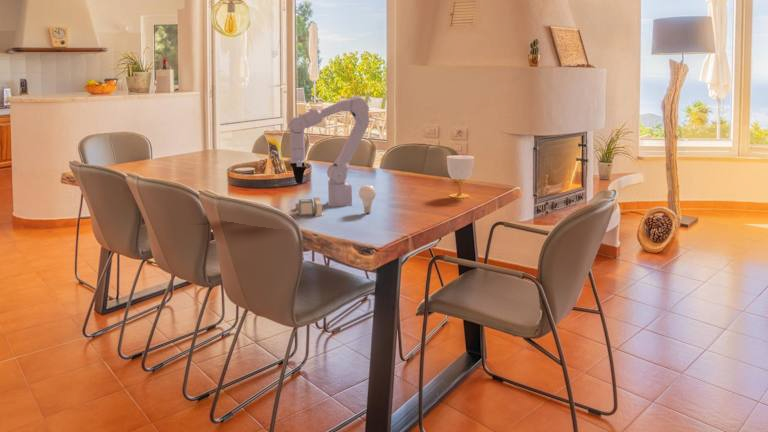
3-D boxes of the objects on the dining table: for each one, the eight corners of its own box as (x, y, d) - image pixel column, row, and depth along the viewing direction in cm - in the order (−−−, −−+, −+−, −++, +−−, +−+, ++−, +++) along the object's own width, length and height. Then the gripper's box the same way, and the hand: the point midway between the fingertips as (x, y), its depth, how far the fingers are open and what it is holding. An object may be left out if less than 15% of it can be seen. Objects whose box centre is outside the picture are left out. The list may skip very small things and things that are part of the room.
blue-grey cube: (312, 211, 243) (311, 198, 241) (313, 214, 238) (312, 201, 237) (298, 212, 242) (298, 199, 240) (299, 215, 237) (299, 201, 236)
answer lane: (305, 207, 252) (305, 207, 252) (307, 213, 243) (307, 212, 243) (294, 208, 251) (294, 207, 251) (296, 213, 242) (296, 213, 242)
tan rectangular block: (320, 210, 248) (320, 197, 247) (323, 216, 237) (323, 203, 236) (312, 210, 248) (312, 197, 247) (315, 216, 237) (315, 203, 236)
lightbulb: (362, 215, 238) (362, 187, 236) (356, 212, 244) (356, 184, 242) (378, 214, 241) (378, 185, 238) (372, 211, 246) (371, 183, 244)
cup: (443, 193, 280) (444, 155, 276) (469, 193, 282) (470, 155, 278) (448, 199, 269) (449, 159, 265) (476, 198, 270) (477, 158, 266)
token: (306, 208, 250) (306, 203, 250) (304, 210, 246) (304, 205, 246) (296, 207, 251) (296, 202, 250) (294, 210, 247) (294, 205, 246)
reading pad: (311, 213, 243) (311, 211, 243) (312, 216, 237) (312, 215, 237) (298, 213, 242) (298, 212, 242) (299, 217, 236) (299, 215, 236)
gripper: (286, 146, 256) (287, 179, 259) (288, 150, 242) (289, 185, 245) (303, 145, 257) (304, 179, 260) (306, 150, 243) (307, 185, 246)
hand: (298, 182), depth 253 cm, fingers open, 6 cm apart
